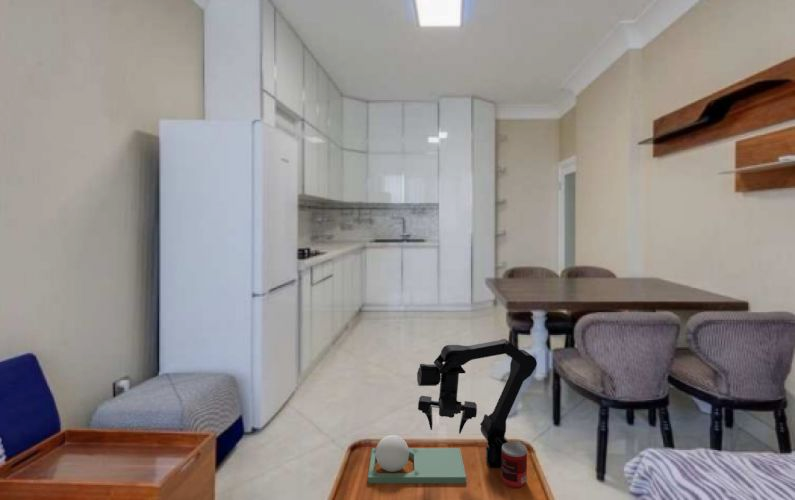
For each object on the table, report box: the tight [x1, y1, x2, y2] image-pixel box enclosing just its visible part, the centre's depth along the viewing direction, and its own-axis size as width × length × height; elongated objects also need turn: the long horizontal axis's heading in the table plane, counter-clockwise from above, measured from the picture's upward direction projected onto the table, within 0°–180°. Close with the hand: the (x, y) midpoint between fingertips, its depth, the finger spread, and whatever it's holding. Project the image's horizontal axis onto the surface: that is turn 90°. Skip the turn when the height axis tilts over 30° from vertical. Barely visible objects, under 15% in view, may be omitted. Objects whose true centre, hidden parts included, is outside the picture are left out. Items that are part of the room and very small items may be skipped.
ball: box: [376, 434, 410, 473], centre depth 149 cm, size 11×11×11 cm
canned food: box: [500, 441, 528, 489], centre depth 142 cm, size 8×8×11 cm
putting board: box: [367, 447, 467, 484], centre depth 150 cm, size 31×17×2 cm, turn 89°
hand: (445, 431), depth 149 cm, fingers open, 9 cm apart
